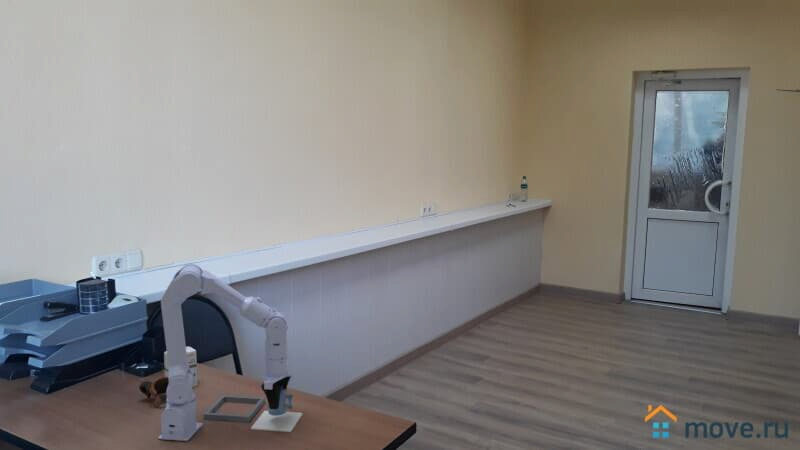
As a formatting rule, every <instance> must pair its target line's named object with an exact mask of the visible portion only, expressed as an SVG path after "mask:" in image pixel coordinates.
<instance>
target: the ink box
mask: <svg viewBox="0 0 800 450" xmlns="http://www.w3.org/2000/svg"><path fill="white" fill-rule="evenodd" d="M186 352H187V360H188V363H189V368H190V370H191V372H192V373H193V375H194V384H193V387H192V388H195V387H198V369H197V368H198V365H197V364H198V363H197V361H198V360H197V350H196V349H194V348H193V347H191V346H186ZM163 356H164V357H163V360H164V361H163V362H164V376H166V377H168V373H169V365H168V357H167V350H166V351H164V352H163ZM168 385H169V384H168Z"/></svg>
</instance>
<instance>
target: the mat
mask: <svg viewBox="0 0 800 450" xmlns="http://www.w3.org/2000/svg"><path fill="white" fill-rule="evenodd" d="M302 416H303V412H295V411H286V413H285V414H282V415H278V416H273V415H270V414H269V413H268V410H264V411H262V414H260V416H259V417H258V418H257V420H256V421H255V422H254V424H253V425H252V426H251V428H250V430H252V431H253V430H254V431H255V430H257V431H268V432H269V431H270V432H283V433H292V432H293V430H294V428H295V426H296V425H297V424H298V423H299V420H300V419H301V417H302Z"/></svg>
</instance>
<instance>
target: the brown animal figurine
mask: <svg viewBox="0 0 800 450" xmlns="http://www.w3.org/2000/svg"><path fill="white" fill-rule="evenodd" d="M168 384H169V379H168V377H166V376H165V375H164V376H160V377H157V378H156V379H154V380H153V381H149V380H143V381H141V382H140V383H139V386H138V388H139V391H140V392H141V394H143V395H145V396H146V397H147V400H148V399H150V398H151V397H152V398H153V400H154V401H153V406H154V407H156V408H160V407H161V405H166V404H167V395H166V390H167V387H168Z"/></svg>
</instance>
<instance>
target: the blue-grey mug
mask: <svg viewBox="0 0 800 450" xmlns="http://www.w3.org/2000/svg"><path fill="white" fill-rule="evenodd" d="M287 400H288V403H287ZM267 404H268V403H267ZM293 404H294V403H293V394H287V389H284V388H282V390H281V394H280V400H279V407H278V409H270V407H269V404H268V406H267V407H268V408H267V411H268V413H269V414H270V415H273V416H278V415H282V414H285V413H286V412H287V409H289V410H291V409H293V407H294V405H293Z"/></svg>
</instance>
